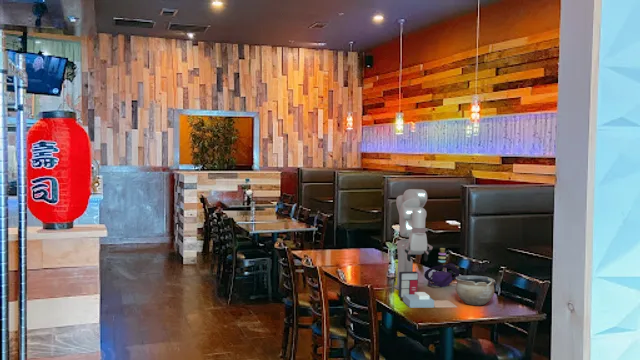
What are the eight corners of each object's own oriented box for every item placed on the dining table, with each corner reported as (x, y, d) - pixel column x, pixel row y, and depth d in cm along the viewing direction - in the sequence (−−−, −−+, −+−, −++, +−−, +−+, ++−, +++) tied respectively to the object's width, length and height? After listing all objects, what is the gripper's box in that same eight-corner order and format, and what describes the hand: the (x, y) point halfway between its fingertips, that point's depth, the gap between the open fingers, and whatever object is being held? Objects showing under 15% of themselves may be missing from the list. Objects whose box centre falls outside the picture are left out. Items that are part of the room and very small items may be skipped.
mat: (427, 301, 328) (427, 300, 328) (448, 301, 330) (448, 300, 330) (434, 307, 315) (434, 306, 315) (457, 307, 316) (457, 306, 316)
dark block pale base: (400, 298, 334) (401, 273, 334) (398, 296, 338) (399, 271, 338) (418, 297, 336) (418, 272, 336) (415, 295, 340) (416, 271, 340)
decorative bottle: (456, 283, 379) (457, 246, 378) (460, 290, 358) (462, 251, 357) (422, 281, 382) (424, 245, 381) (425, 288, 361) (426, 250, 360)
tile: (414, 295, 325) (414, 292, 325) (424, 295, 326) (424, 292, 325) (419, 299, 316) (419, 295, 316) (429, 299, 317) (429, 295, 317)
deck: (402, 301, 327) (403, 294, 326) (426, 301, 328) (426, 294, 328) (409, 307, 313) (410, 300, 313) (434, 307, 315) (434, 300, 314)
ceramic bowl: (466, 309, 312) (467, 282, 312) (448, 299, 333) (448, 274, 333) (501, 307, 318) (502, 281, 318) (481, 298, 339) (481, 273, 339)
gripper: (430, 230, 320) (429, 260, 321) (401, 229, 318) (400, 260, 318) (435, 231, 313) (434, 262, 313) (405, 231, 310) (404, 262, 311)
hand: (417, 261), depth 316 cm, fingers open, 9 cm apart
